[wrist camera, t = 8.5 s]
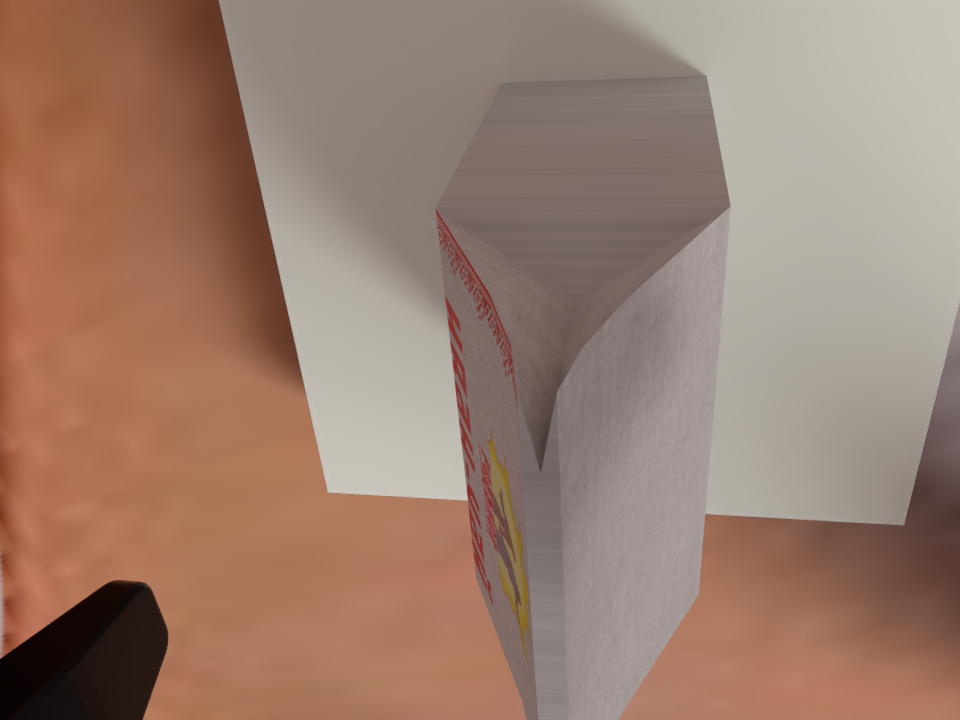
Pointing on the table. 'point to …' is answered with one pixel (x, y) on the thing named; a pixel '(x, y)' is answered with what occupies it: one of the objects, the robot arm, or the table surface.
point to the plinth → (751, 239)
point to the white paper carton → (587, 372)
